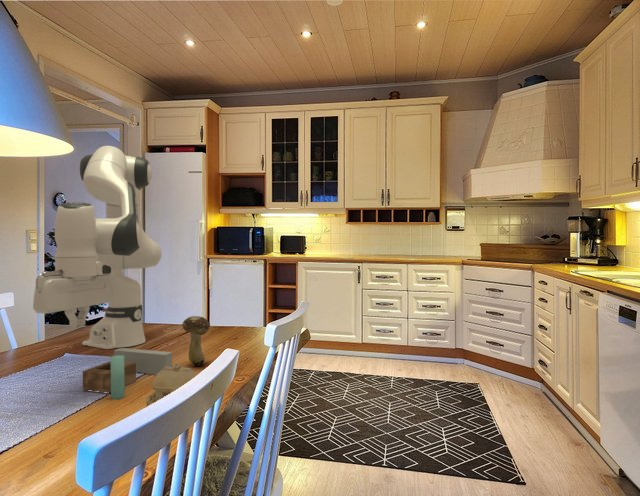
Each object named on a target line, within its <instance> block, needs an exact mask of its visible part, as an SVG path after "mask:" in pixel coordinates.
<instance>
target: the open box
mask: <svg viewBox="0 0 640 496" xmlns="http://www.w3.org/2000/svg"><path fill="white" fill-rule="evenodd" d="M81 373H82V390H83V389H84V390H92V391H99V392H107V393H108V392H111V360H110V361H107V362H104V363H101V364H99V365H96V366H94V367H90V368H88V369H84V370H83V371H82V372H81ZM135 382H137V373H136V363H133V362H124V384H125V387H126V386H128V385H131V384H132V383H135Z"/></svg>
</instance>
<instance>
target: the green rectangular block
mask: <svg viewBox="0 0 640 496" xmlns="http://www.w3.org/2000/svg"><path fill="white" fill-rule="evenodd" d="M110 361H111V393H110V397H111V398H110V399H111V400H120V399H123V398H125V397H126V396H125V395H126V394H125V387H126V386H125V384H124V356H123V355H116V356H114V355H112V356H111V357H110Z"/></svg>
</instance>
